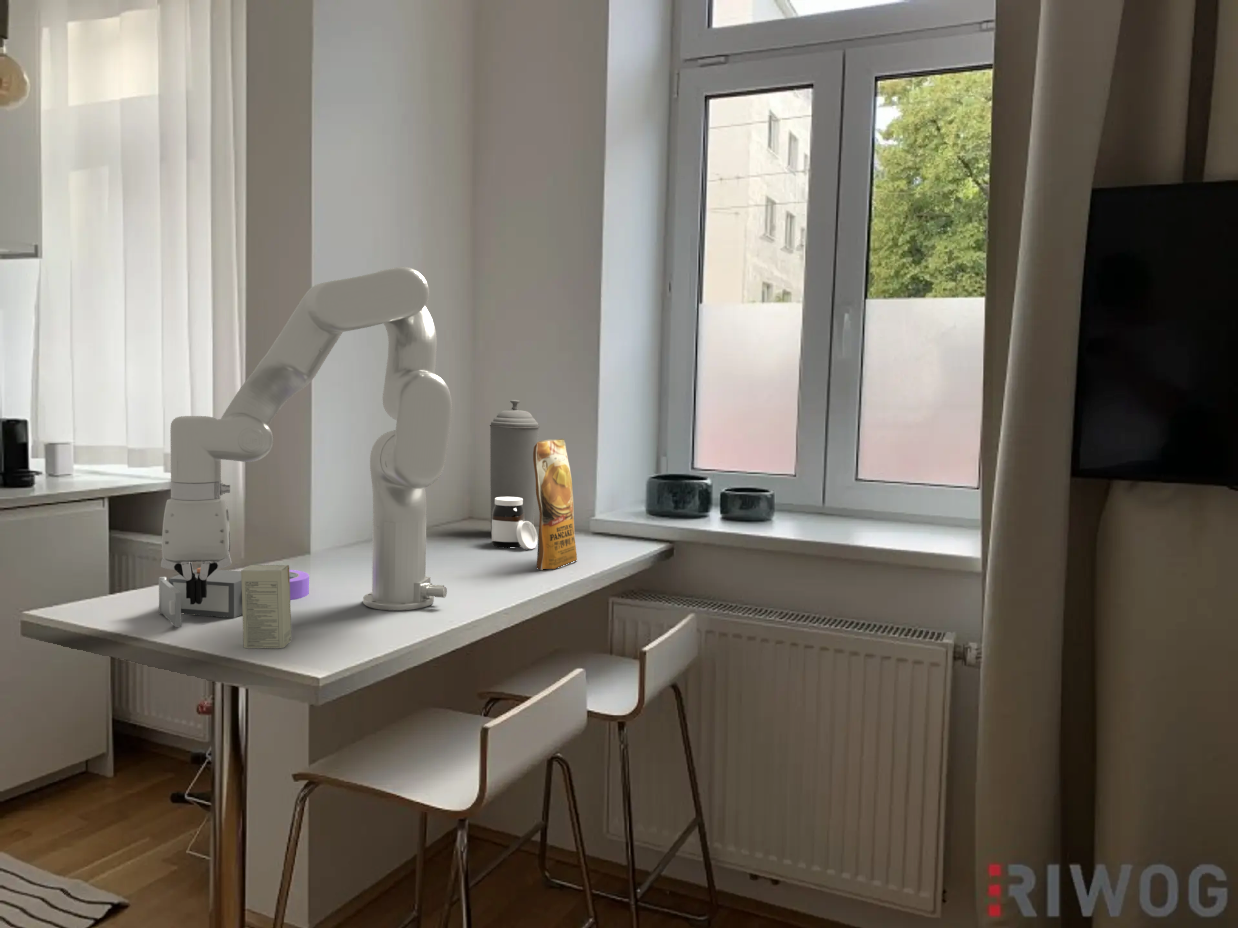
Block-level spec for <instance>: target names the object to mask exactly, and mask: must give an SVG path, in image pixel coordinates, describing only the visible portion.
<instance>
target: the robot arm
mask: <svg viewBox="0 0 1238 928" xmlns="http://www.w3.org/2000/svg"><path fill="white" fill-rule="evenodd" d="M429 298H430V287H429V284H428V282H427V280H426V277H424V276H423V275H422V274H421V273H420V272H419V271H418V270H416V269H415V268H411V267H409V266H398V267H392V268H387V269H383V270H379V271H376V272H372V273H369V274H368V273H367V274H364V275H359V276H353V277H348V278H342V279H337V280H336V279H335V280H329V281H324V282H319V283H317V284H315V285H314V286H312V287H310V288H309V289H308V290H307V291H306V293H305V294H304V295H303V297H302V298H301V300H300V301H299V303H298V305H297V306H296V307H295V308H294V311H293V312H292V313H291V315H290V317H289V318H288V320H287V322H286V323H285V325H284V326H283V328H282V329H281V331H280V332H279V335H278V336H277V337H276V339H275V340H274V342H273V343H272V344H271V346H270V348H269V350H267V353H266V354H265V355H264V356H263V357H262V358H261V360H260V361H259V363H258V364H257V366H255V369H254V370H253V371H252V373H251V374H250V375H249V376H248V378H246V379H245V382H244V383H243V384H242V385H241V387H240V389H239V390H238V391H237V392H236V394H235V396H234V397H233V399H232V400H231V402H230V403H229V405H228V407H227V408H226V410H225V411H224V412H223V414H222V416H221V417H220V418H219V419H217V418H216V417H214V416H213V417H212V416H208V415H207V416H206V415H205V416H202V415H183V416H177V417H175V418H173V419H172V421H171V423H170V436H169V437H170V498H169V499H167V500H166V502H165V506H164V507H165V508H164V514H163V518H162V519H163V521H162V532H161V561H160V568H163V569H166V570H172V571H176V572H177V573H178V575H181V576H183V577H184V579H185V580H186V598H190V604H195V603H197V604H201V603H202V601H203V598H206V597H207V577H208V576H210V575H211V574H212V573H213V572H214V571H215V570H216V569H218V570H221V569H224V568H227V567H230V566H231V565H232V558H231V555H230V552H231V528H230V527H231V526H230V516H229V515H230V514H229V509H228V503H227V499H226V498H222V496H223V495H224V494H231V484H225V483H223V482H222V474H221V473H222V471H221V470H222V464H221V463H222V460H225V461H235V462H241V463H242V462H244V463H246V462H247V463H251V462H257V461H259V460H261V459H263V458H264V457H266V456H267V455H268V454H269V453H270V452H271V450H272V448H273V444H274V436H273V432H272V430H271V428H270V424H271V423H272V421H273V420H274V418H275V417H276V415H277V414H278V413H279V411H280V410H281V408H283V407H284V406H285V404H286V403H287V402H288V401H289V400H290V398H292V397H293V396H294V395H295V394H297V393H298V392H300V391H302V390H303V389H304V388H306V387H307V386H308V385H309V384H310V383H311V382H312V381H313V380H314V378H316V376H317V374H318V373H319V371H320V369H321V367H322V366H323V364H324V363H325V361H326V359H327V358H328V356H329V355H330V353H331V351H332V350H333V348H334V346H335V345H336V344H337V342H338V340H339V339H340V338H341V336H342V334H343V333H344V332H350V331H355V330H360V329H365V328H366V329H367V328H371V327H374V326H379V325H384V327H385V329H386V330H385V331H386V332H387V340H388V343H387V344H388V345H387V346H388V349H387V362H386V369H385V376H384V385H383V391H382V405H383V408H384V411H385V413H387V416H389V417H390V418H392V419H393V420H396V424H395V429H393V430H390V431H386V432H385V433H383V434H381V435H380V436H379V437H378V438H377V439H376V440H375V442H374V444H373V445H372V448H371V450H370V457H369V469H370V480H371V485H372V486H371V487H372V557H371V559H372V560H371V561H372V565H371V566H372V567H371V568H372V569H371V571H372V573H371V574H372V577H371V592H369V593H366V594H365V595H364V596H363V598H362V602H363V605H365V606H366V607H368V608H371V609H375V610H382V611H383V610H384V611H409V610H410V611H411V610H417V609H423V608H425V607H429V606H431V605H432V604H434V602H435V599H434V598H443V599H445V598H446V597H447V593H448V590H447V589H448V588H447V587H446V586H445V585H444V584H443V585H442V584H441V585H440V584H433V583H432V582H431V577H430V576H426V562H427V561H426V560H427V558H426V557H427V556H426V555H427V517H428V512H427V511H428V510H427V509H428V506H427V505H428V504H427V492H426V488H427V487H430V486H431V485H433V484H434V483H435V482H436V481H437V480H438V479H439V478H440V476H441V475H442V473H443V471H444V467H445V464H446V459H447V455H448V453H447V452H448V445H449V437H450V430H451V429H450V428H451V422H452V413H453V400H452V395H451V392H450V388H449V386H448V384H447V383H446V382H445V380H444V379H442V377H440V376H439V375H437V374H436V366H437V365H436V363H437V351H438V350H437V347H438V339H437V337H438V336H437V330H436V327H435V322H434V320H433V317H432V316H431V313H430V312H429V310H428V308H427V304H428V301H429ZM193 562H201V565H200V568H201V569H200V574H199V575H198V578H196V577H195V574H194V573H193V570H194V569H193V568H194V567H193Z"/></svg>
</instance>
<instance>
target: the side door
mask: <svg viewBox="0 0 1238 928" xmlns="http://www.w3.org/2000/svg"><path fill="white" fill-rule="evenodd" d="M167 579H168V578H167V576H159V577H158V614H159V613H160V614H159V615H163V616H164V617H165V618H166V619H167V620H168V621H169V622H170V623H171V624H172V625H173V626H174V627H175V628H180V627H182V614H181V593H180V592H179V591H178V590H177V589H176V588H175V587H174V586H173V585H171V584H170V583H169V580H167Z"/></svg>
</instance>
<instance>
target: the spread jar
mask: <svg viewBox="0 0 1238 928" xmlns="http://www.w3.org/2000/svg"><path fill="white" fill-rule="evenodd" d="M522 505H523V499H522V498H518V497H497V498H495V507H494V509H493V512H492V533H491V544H492V546H493V547H495V548H499V547H504V548H503V549H511V548H510V547H518V548H523V549H524V550H526V549H529V550H532V549H534V548H536V546H538V533H537V532H538V531H537V529H536V527H535V526H534V525H533V524H532V523H531V522H529V521H524V509H523V507H522ZM520 546H521V547H520Z"/></svg>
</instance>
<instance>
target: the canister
mask: <svg viewBox="0 0 1238 928" xmlns="http://www.w3.org/2000/svg"><path fill="white" fill-rule="evenodd" d="M520 402H521V401H520V400H519V399H518V400H517V399H511V400H509V403H511V404H512V407H511V409H506V410H505V409H504V410H501V411H500V412H499V413H497V415H496V417H494V418H493V420H492V421H491V422H490V424H489V426H490V429H489V430H490V437H489V439H490V441H489V442H490V447H489V449H490V453H489V454H490V459H489V461H490V467H489V468H490V470H489V472H490V481H489V482H490V533H491V534H492V512H493V509H494V507H495V498H497V497H518V498H522V499H523V505H522V507H523V509H524V521H529V522H531V523H532V524H533V525H534V523H535V521H534V520H535V507H536V506H535V503H536V478H535V470H534V462H533V451H534V446H535V445H536V443H537V442H539V430H540V429H539V428H540V425H539V422H538V421H537V420H536V419H535V418H534V417H533V414H531V412H529V411H527V410H521V409H520V410H519V408H518V404H519V403H520Z"/></svg>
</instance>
